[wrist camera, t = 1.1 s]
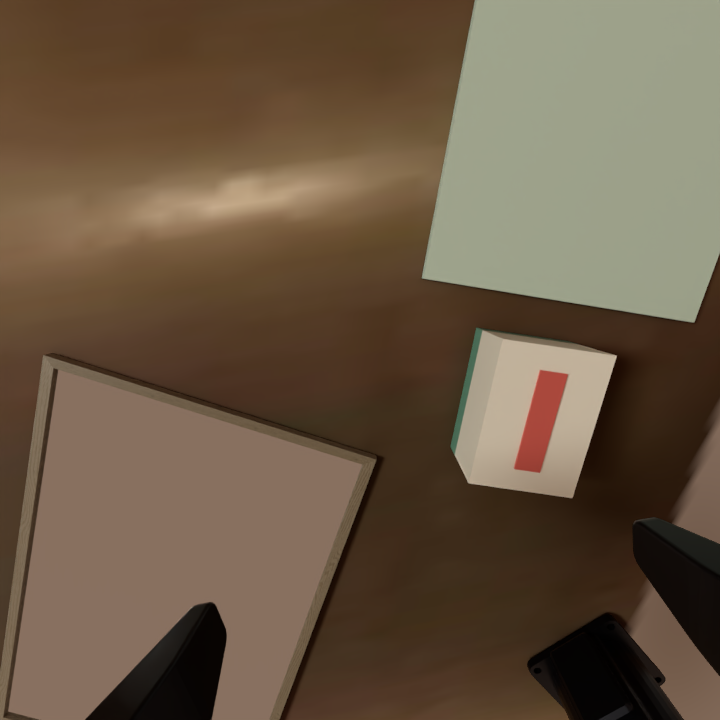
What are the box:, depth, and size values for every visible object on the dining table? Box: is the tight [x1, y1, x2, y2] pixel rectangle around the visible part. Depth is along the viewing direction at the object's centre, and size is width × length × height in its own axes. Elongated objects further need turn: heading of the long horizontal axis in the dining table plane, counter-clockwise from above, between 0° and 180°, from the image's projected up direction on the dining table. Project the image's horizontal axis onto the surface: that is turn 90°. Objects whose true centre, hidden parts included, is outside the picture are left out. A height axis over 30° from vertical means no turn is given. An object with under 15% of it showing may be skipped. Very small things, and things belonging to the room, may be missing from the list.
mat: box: [422, 0, 720, 323], centre depth 17 cm, size 15×14×1 cm
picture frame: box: [0, 353, 377, 720], centre depth 23 cm, size 19×1×28 cm
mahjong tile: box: [451, 328, 617, 498], centre depth 18 cm, size 7×5×4 cm
